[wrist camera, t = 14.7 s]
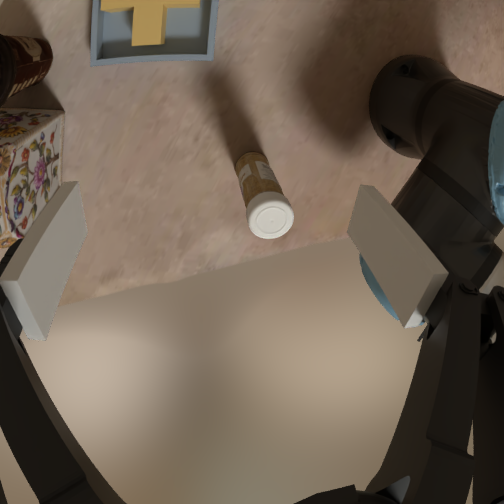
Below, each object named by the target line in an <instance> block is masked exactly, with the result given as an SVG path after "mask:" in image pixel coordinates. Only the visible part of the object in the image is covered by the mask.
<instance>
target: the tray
mask: <svg viewBox="0 0 504 504" xmlns="http://www.w3.org/2000/svg"><path fill="white" fill-rule="evenodd" d="M218 2H219V0H201V1H200V8H167V20H166V34H165V44H157V45H139V46H132V28H133V13H134V10H131V11H121V12H112V13H110V12H106V11H101V0H93V7H92V24H91V67H92V66H100V65H110V64H120V63H132V62H148V61H182V60H195V61H213V57H214V45H215V33H216V22H217V12H218Z"/></svg>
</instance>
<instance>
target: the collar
mask: <svg viewBox="0 0 504 504" xmlns="http://www.w3.org/2000/svg"><path fill="white" fill-rule="evenodd" d="M200 1H201V0H101V11H106V12H110V13H112V12H121V11H131V10H134V13H133V28H132V46H139V45H157V44H165V34H166V20H167V8H200Z"/></svg>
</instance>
